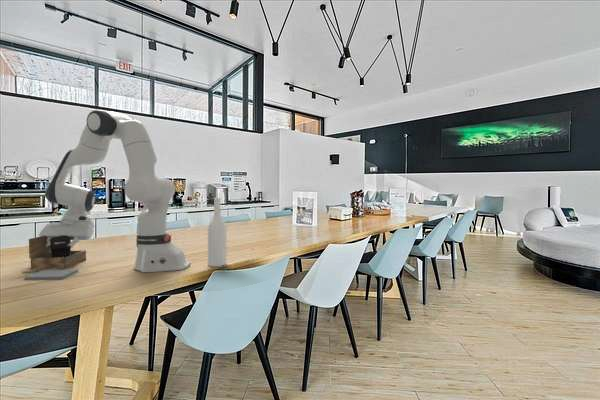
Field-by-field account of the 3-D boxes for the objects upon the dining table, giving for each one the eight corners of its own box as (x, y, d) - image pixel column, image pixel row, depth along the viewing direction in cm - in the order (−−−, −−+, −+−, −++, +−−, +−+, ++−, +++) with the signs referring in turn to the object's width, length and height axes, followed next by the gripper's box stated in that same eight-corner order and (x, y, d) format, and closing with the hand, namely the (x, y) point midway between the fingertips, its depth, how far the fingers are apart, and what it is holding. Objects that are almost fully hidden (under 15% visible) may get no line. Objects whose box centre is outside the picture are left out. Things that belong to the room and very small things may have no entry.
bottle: (212, 267, 134) (212, 198, 133) (204, 264, 140) (204, 197, 139) (229, 264, 139) (229, 197, 138) (221, 261, 145) (221, 197, 144)
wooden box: (86, 259, 145) (85, 233, 144) (57, 271, 125) (57, 240, 124) (54, 260, 143) (53, 233, 143) (20, 272, 123) (19, 241, 123)
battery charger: (50, 263, 133) (49, 236, 133) (52, 261, 137) (51, 235, 136) (70, 261, 137) (69, 235, 136) (71, 259, 140) (70, 234, 140)
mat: (78, 271, 125) (77, 269, 125) (62, 278, 116) (62, 276, 116) (42, 272, 124) (42, 270, 124) (24, 279, 114) (24, 277, 114)
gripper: (44, 218, 142) (29, 243, 132) (92, 217, 144) (81, 242, 135) (51, 226, 146) (37, 251, 137) (98, 225, 149) (87, 250, 139)
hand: (59, 247), depth 136 cm, fingers closed on battery charger, 7 cm apart
